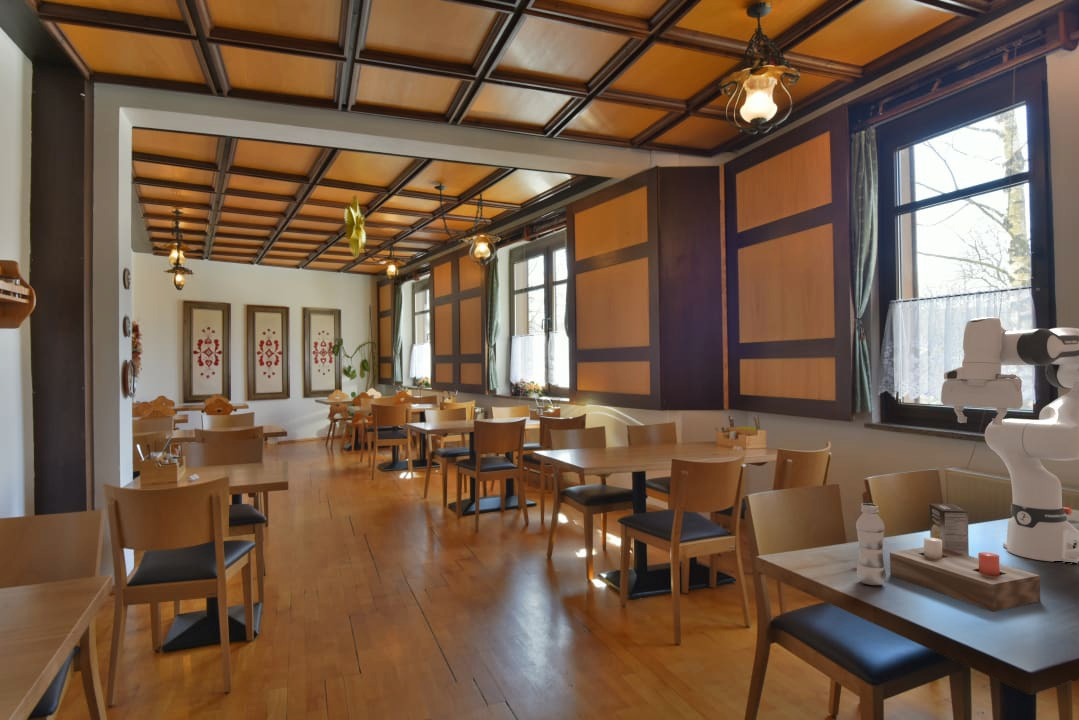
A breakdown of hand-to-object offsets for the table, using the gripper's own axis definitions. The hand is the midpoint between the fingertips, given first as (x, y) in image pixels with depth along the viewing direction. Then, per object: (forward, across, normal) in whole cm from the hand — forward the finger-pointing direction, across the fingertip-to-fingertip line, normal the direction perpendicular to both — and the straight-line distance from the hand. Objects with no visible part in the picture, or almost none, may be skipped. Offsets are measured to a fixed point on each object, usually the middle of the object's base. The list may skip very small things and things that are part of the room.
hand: (979, 423), depth 168 cm
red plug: (+37, -17, +19) cm, 45 cm away
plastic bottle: (+43, 0, +37) cm, 57 cm away
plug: (+37, -3, +19) cm, 42 cm away
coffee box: (+40, +3, +5) cm, 40 cm away
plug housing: (+41, -10, +19) cm, 46 cm away
